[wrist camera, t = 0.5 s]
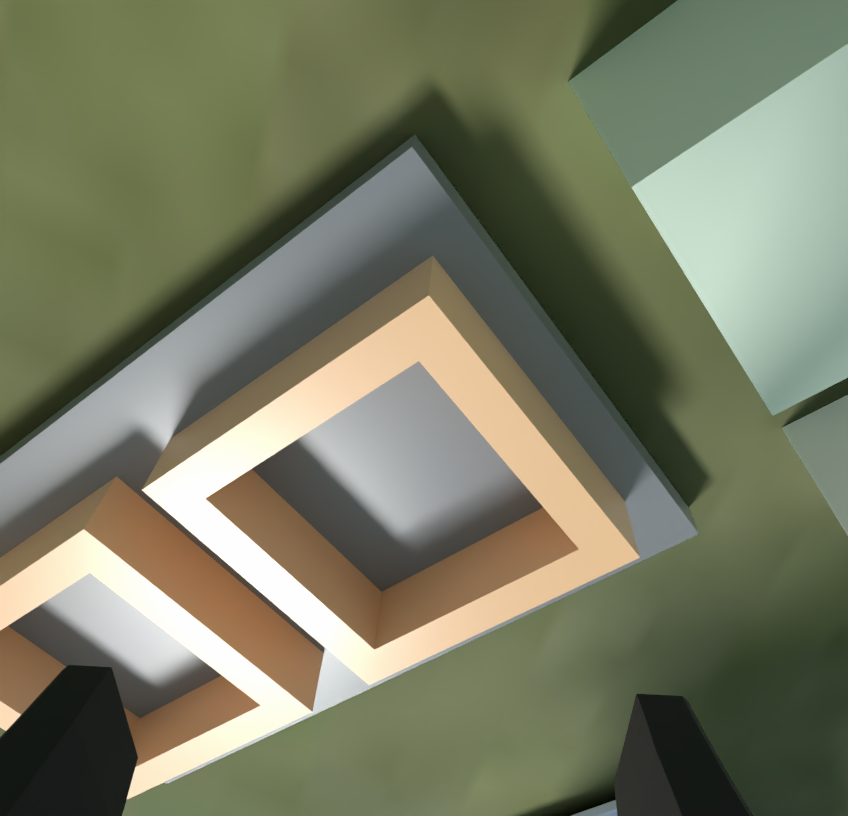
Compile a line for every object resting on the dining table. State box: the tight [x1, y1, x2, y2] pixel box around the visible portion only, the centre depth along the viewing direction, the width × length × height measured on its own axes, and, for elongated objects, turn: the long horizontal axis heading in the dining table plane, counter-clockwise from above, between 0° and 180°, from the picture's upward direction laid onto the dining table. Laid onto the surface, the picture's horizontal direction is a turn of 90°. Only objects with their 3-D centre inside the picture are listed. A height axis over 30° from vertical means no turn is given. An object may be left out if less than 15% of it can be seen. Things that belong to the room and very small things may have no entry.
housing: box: [0, 135, 699, 799], centre depth 21 cm, size 12×20×3 cm, turn 127°
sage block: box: [568, 0, 848, 416], centre depth 12 cm, size 4×4×7 cm
